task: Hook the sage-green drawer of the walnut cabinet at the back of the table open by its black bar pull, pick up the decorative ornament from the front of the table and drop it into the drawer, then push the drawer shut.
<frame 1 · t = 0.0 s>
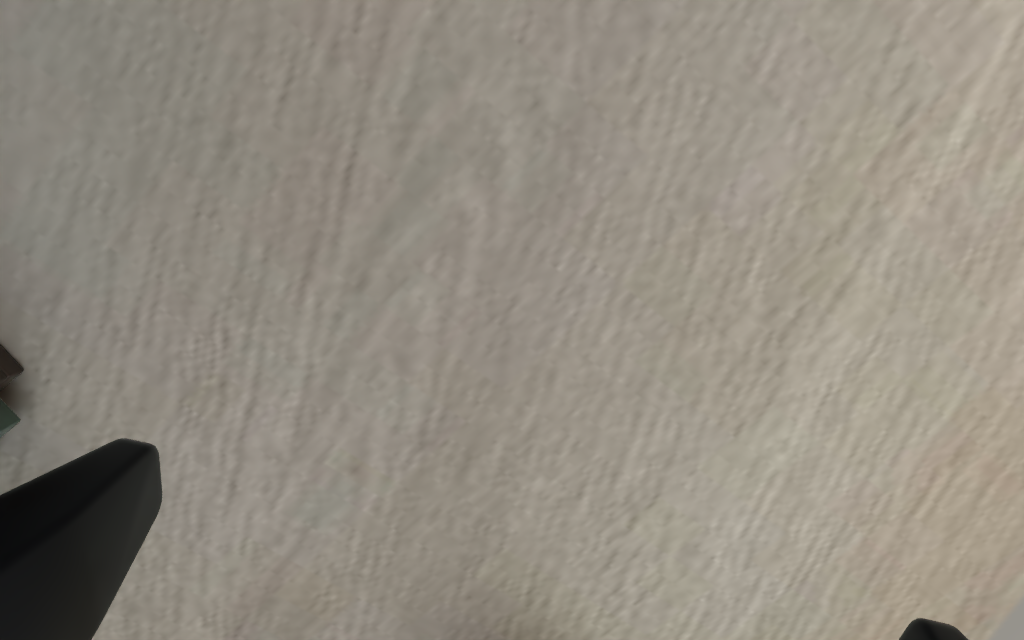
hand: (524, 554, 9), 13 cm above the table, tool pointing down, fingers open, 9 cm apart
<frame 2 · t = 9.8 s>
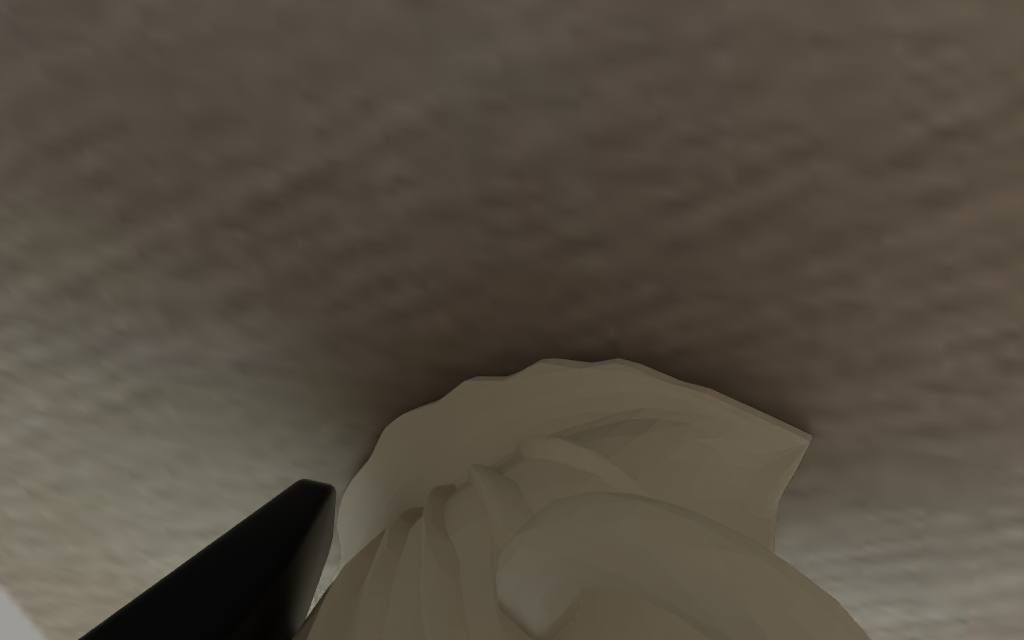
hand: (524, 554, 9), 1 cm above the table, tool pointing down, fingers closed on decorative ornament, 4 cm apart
decorative ornament: (553, 488, 10), on the table, touching gripper
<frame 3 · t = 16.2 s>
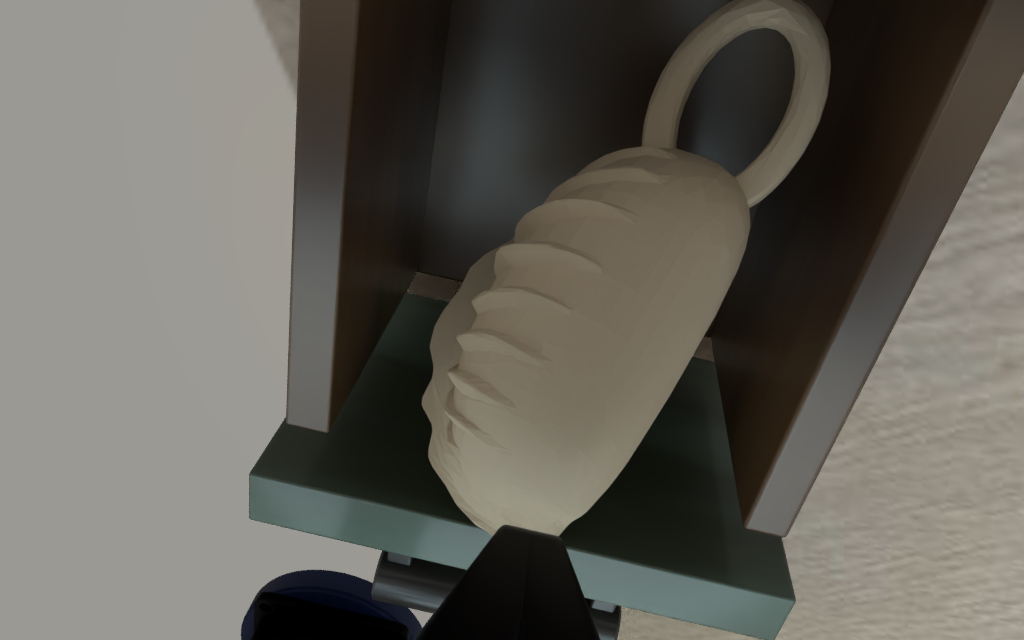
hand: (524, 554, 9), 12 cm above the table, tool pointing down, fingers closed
decorative ornament: (569, 332, 15), point 6 cm above the table
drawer: (566, 310, 16), point 5 cm above the table, slide at 10.1 cm
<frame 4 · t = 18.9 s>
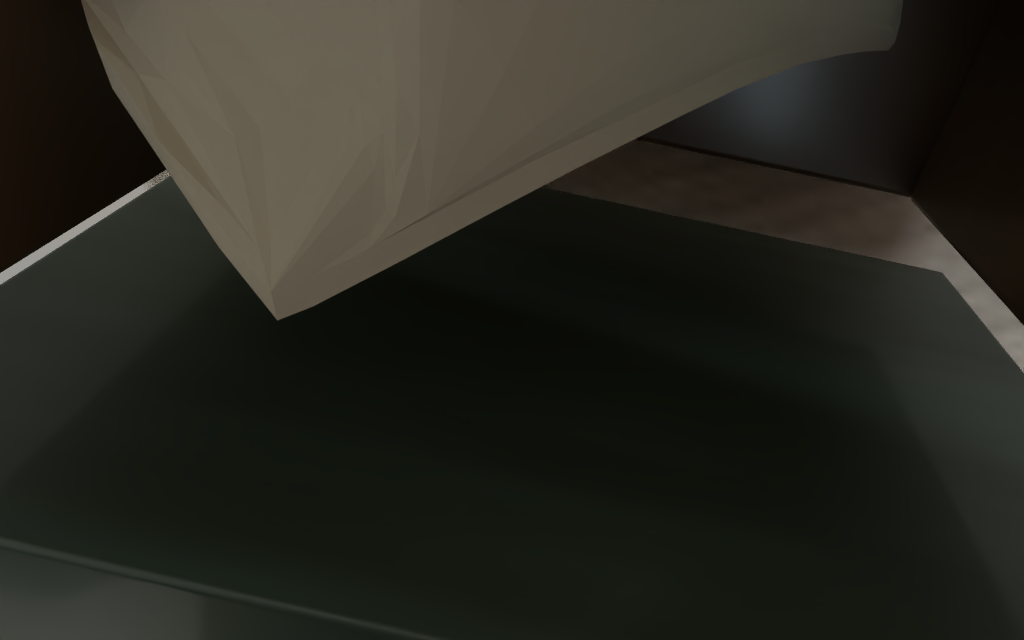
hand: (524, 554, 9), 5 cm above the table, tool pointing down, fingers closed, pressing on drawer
decorative ornament: (576, 12, 7), point 4 cm above the table, touching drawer
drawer: (645, 64, 6), point 5 cm above the table, slide at 4.8 cm, touching decorative ornament, gripper
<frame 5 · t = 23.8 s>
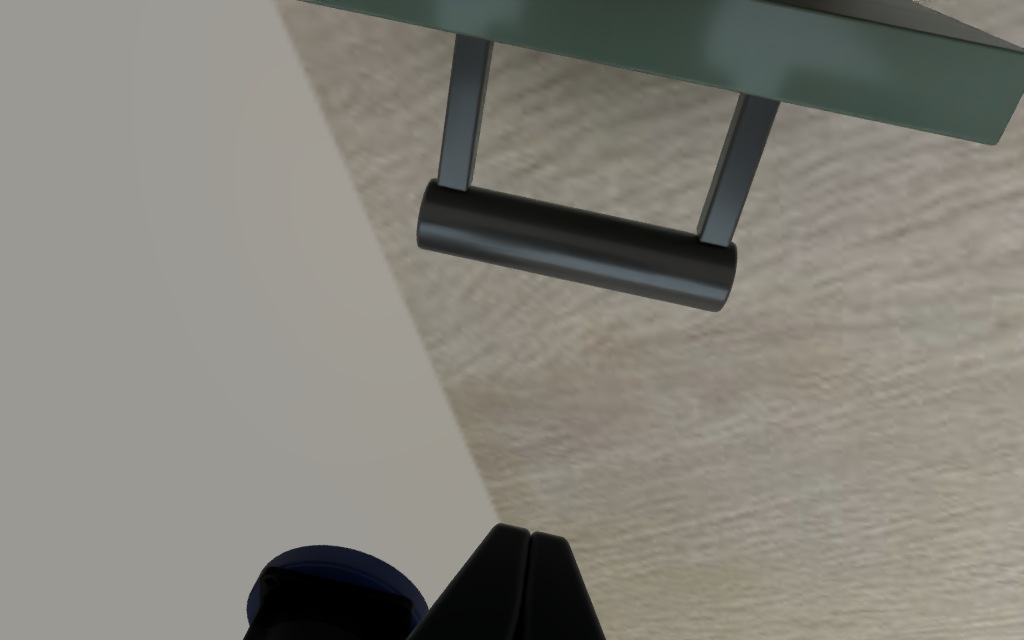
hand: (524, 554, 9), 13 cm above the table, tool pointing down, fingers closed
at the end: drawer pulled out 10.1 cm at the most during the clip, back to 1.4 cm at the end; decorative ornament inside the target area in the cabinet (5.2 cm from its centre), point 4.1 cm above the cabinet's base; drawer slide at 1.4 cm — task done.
